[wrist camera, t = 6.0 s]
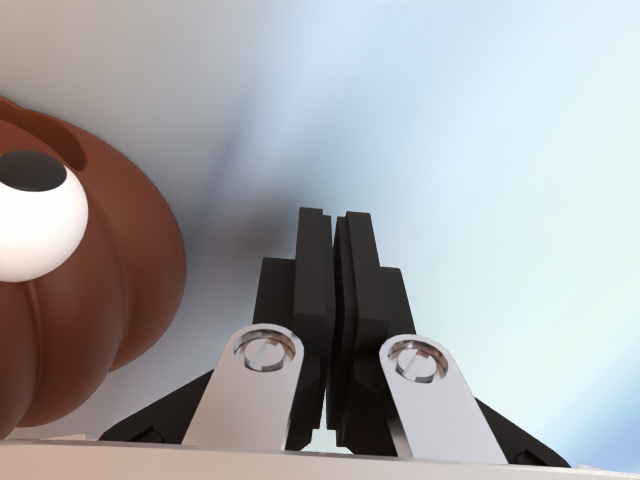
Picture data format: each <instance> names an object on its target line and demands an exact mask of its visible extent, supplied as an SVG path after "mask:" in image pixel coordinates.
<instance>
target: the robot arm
mask: <svg viewBox="0 0 640 480" xmlns="http://www.w3.org/2000/svg"><path fill="white" fill-rule="evenodd" d="M325 388H326V425H327V430H336V447H347V448H348V449H349V450H350V451H351V452H352V453H353V454H339V453H322V452H305V451H300V450H302V449H303V448H304V447H305V446H307V445H308V444H309V443H310V442H311V438H312V430H313V429H319V427H320V421H321V414H322V408H323V401H324V395H325ZM0 480H640V474H636V473H626V472H612V471H607V470H603V469H599V468H595V467H592V466H588V465H584V464H580V463H579V465H578V467H577V469H574V468H571V467H570V465H569V464H568V463H567V462H566V461H565V460H564V459H563V458H562V457H561V456H559V455H558V454H557V453H556V452H555V451H553V450H552V449H550V448H549V447H547V446H546V445H544V444H543V443H542V442H540V441H539V440H537V439H536V438H534V437H533V436H531V435H530V434H528V433H527V432H525V431H524V430H522V429H521V428H519V427H518V426H517V425H515V424H514V423H512V422H511V421H509V420H508V419H506V418H505V417H503V416H502V415H500V414H499V413H497V412H496V411H494V410H493V409H491V408H490V407H489V406H487V405H486V404H484V403H483V402H481V401H480V400H478V399H477V398H475V397H474V396H473V394H472V392H471V391H470V389H469V387H468V385H467V383H466V381H465V379H464V377H463V375H462V373H461V371H460V369H459V367H458V365H457V364H456V362H455V360H454V358H453V357H452V355H451V354H450V353H449V351H448V350H447V349H445V348H444V347H443V346H442V345H440V344H439V343H437V342H435V341H433V340H431V339H429V338H426V337H423V336H419V335H416V331H415V327H414V322H413V318H412V314H411V310H410V306H409V302H408V298H407V294H406V290H405V286H404V282H403V278H402V274H401V271H400V269H399V268H391V267H380V264H379V258H378V253H377V248H376V242H375V237H374V232H373V227H372V221H371V216H370V213H361V212H350V211H347V212H346V216H345V217H339V216H338V217H337V222H336V229H335V237H334V244H333V247H332V227H331V216H328V215H323V209H315V208H304V207H300V212H299V223H298V234H297V245H296V256H295V260H293V259H280V258H268V257H264V258H263V262H262V268H261V274H260V280H259V286H258V292H257V298H256V305H255V311H254V317H253V323H252V325H249V326H247V327H244V328H241V329H239V330H238V331H237V332H235V333H234V334H233V335H231V337H230V338H229V340H228V341H227V343H226V345H225V347H224V349H223V352H222V354H221V356H220V358H219V361H218V363H217V365H216V367H215V369H213V370H211V371H209V372H208V373H206V374H204V375H202V376H200V377H199V378H197V379H195V380H193V381H192V382H190V383H188V384H186V385H184V386H183V387H181V388H179V389H177V390H175V391H174V392H172V393H170V394H168V395H167V396H165V397H163V398H161V399H159V400H158V401H156V402H154V403H152V404H151V405H149V406H147V407H145V408H143V409H142V410H140V411H138V412H136V413H135V414H133V415H131V416H129V417H127V418H126V419H124V420H122V421H120V422H119V423H117V424H115V425H114V426H112V427H111V428H110V429H108V430H107V431H106V432H104V433H103V434H102V436H101V437H100V438H96V439H88V440H86V439H85V434H84V433H83V434H75V435H67V436H60V437H52V438H44V439H12V440H0Z"/></svg>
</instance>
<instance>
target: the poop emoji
mask: <svg viewBox="0 0 640 480" xmlns="http://www.w3.org/2000/svg"><path fill="white" fill-rule="evenodd" d="M185 278H186V257H185V250H184V244H183V239H182V236H181V232H180V229H179V227H178V224H177V222H176V219H175V217H174V215H173V213H172V211H171V209H170V207H169V205H168V204H167V202H166V200H165V199H164V197H163V196H162V194H161V193H160V192H159V190H158V189H157V188H156V186H155V185H154V184H153V183H152V182H151V180H150V179H149V178H148V177H147V176H146V175H145V174H144V173H143V172H142V171H141V170H140V169H139V168H138V167H137V166H136V165H135V164H134V163H133V162H131V161H130V160H129V159H128V158H127V157H125V156H124V155H123V154H121V153H120V152H119V151H117V150H116V149H115V148H113V147H112V146H110V145H109V144H107V143H106V142H104V141H102V140H101V139H99V138H97V137H96V136H94V135H92V134H90V133H88V132H86V131H84V130H82V129H80V128H78V127H76V126H74V125H72V124H69V123H67V122H65V121H62V120H59V119H57V118H54V117H51V116H48V115H45V114H43V113H39V112H36V111H32V110H28V109H24V108H21V107H20V106H18V105H16V104H15V103H13V102H11V101H10V100H8V99H6V98H4V97H3V96H1V95H0V440H4V439H5V438H6V437H7V436H8V435H9V434H10V433H11V432H12V431H13V429H14V428H15V427H34V426H39V425H44V424H47V423H50V422H53V421H55V420H58V419H60V418H62V417H64V416H66V415H68V414H69V413H71V412H72V411H74V410H75V409H77V408H78V407H79V406H80V405H82V404H83V403H84V402H85V401H86V400H87V399H88V398H89V397H90V396H91V395H92V394H93V393H94V392H95V391H96V389H97V388H98V387H99V385H100V384H101V383H102V381H103V380H104V378H105V376H106V375H107V373H109V372H112V371H114V370H116V369H118V368H120V367H122V366H124V365H126V364H128V363H130V362H131V361H133V360H135V359H136V358H138V357H139V356H140V355H142V354H143V353H144V352H146V351H147V350H148V349H149V348H150V347H152V346H153V345H154V344H155V343H156V342H157V341H158V339H159V338H160V337H161V336H162V335H163V333H164V332H165V331H166V330H167V328H168V327H169V325H170V323H171V322H172V320H173V318H174V316H175V314H176V312H177V310H178V307H179V305H180V302H181V299H182V295H183V291H184V286H185Z"/></svg>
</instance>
